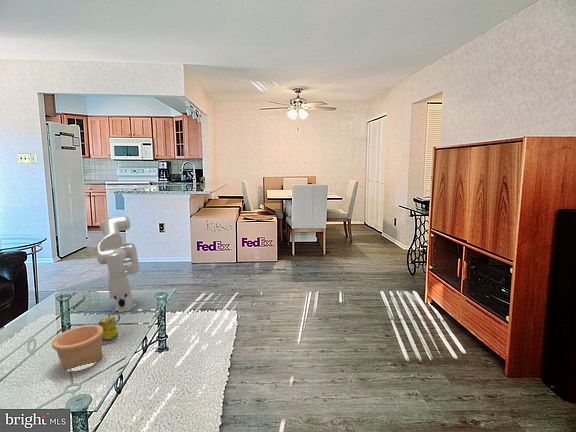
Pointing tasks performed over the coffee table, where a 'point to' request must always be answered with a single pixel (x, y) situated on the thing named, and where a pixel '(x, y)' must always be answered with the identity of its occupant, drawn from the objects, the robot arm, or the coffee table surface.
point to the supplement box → (108, 328)
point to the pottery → (79, 346)
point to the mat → (109, 341)
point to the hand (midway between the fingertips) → (122, 306)
